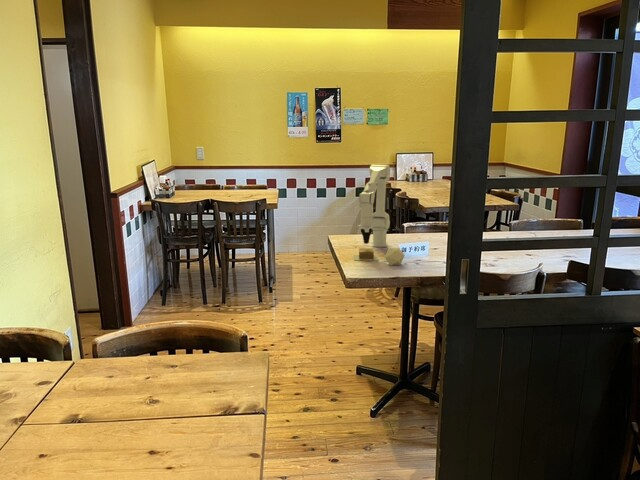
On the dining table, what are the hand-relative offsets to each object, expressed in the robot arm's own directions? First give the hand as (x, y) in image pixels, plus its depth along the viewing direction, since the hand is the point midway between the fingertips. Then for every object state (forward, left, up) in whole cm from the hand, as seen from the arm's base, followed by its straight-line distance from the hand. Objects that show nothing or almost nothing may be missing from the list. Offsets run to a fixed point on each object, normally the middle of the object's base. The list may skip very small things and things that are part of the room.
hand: (366, 243), depth 233 cm
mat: (+3, 0, -7) cm, 7 cm away
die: (+13, +13, -7) cm, 20 cm away
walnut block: (-2, 0, -5) cm, 5 cm away
